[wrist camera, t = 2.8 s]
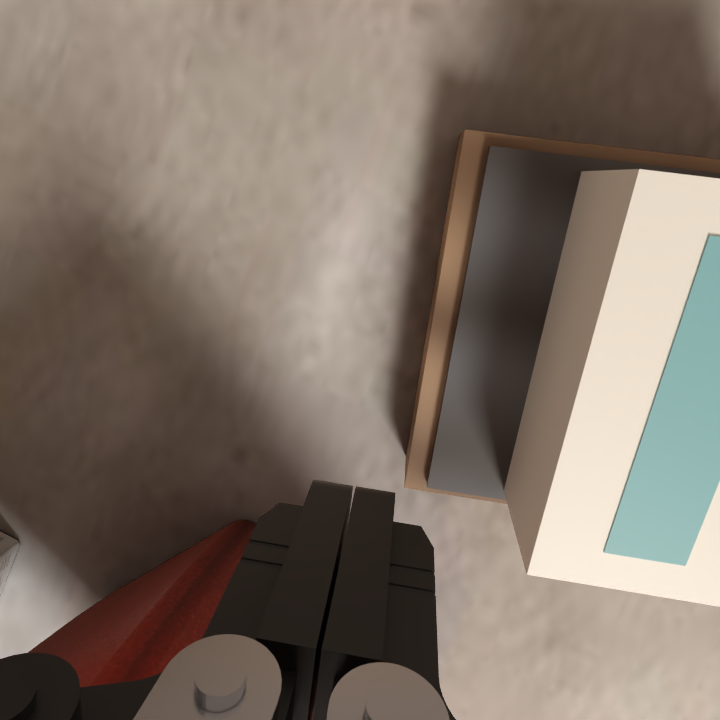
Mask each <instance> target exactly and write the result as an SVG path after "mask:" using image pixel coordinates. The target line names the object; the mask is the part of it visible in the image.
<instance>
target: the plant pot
mask: <svg viewBox="0 0 720 720" xmlns="http://www.w3.org/2000/svg"><path fill="white" fill-rule="evenodd" d="M255 527H256V524H255V523H253V522H250V521H248V520H239V521H235V522H233V523H231V524H230V525H228V526H226V527H224V528H222V529H221V530H219V531H217V532H215V533H214V534H212V535H210V536H209V537H207V538H205V539H203V540H202V541H200V542H198V543H197V544H195V545H193V546H192V547H190V548H188V549H186V550H185V551H183V552H181V553H180V554H178V555H176V556H175V557H173V558H171V559H169V560H168V561H166V562H164V563H163V564H161V565H159V566H158V567H156V568H154V569H152V570H151V571H149V572H147V573H145V574H144V575H142V576H140V577H138V578H137V579H135V580H133V581H132V582H130V583H128V584H126V585H125V586H123V587H121V588H120V589H118V590H116V591H114V592H113V593H111V594H109V595H108V596H106V597H105V598H103V599H102V600H100V601H99V602H97V603H96V604H95V605H93V606H92V607H90V608H89V609H87V610H86V611H84V612H83V613H81V614H80V615H78V616H77V617H75V618H74V619H73V620H71V621H70V622H69V623H67V624H66V625H65V626H63V627H62V628H60V629H59V630H58V631H56V632H55V633H54V634H52V635H51V636H50V637H48V638H47V639H46V640H44V641H43V642H41V643H40V644H39V645H37V646H36V647H35V648H33V649H32V650H31V651H30V652H28V653H48V654H52V655H56V656H58V657H60V658H62V659H64V660H66V661H67V662H68V663H70V664H71V665H72V666H73V668H74V669H75V671H76V672H77V675H78V677H79V682H80V687H87V686H95V685H104V684H112V683H120V682H129V681H135V680H140V679H144V678H147V677H151V676H154V675H156V674H159V673H161V672H163V670H164V669H165V668H166V666H167V665H168V663H169V662H170V661H171V660H172V659H173V658H174V657H175V656H176V655H177V654H178V653H179V652H180V651H181V650H183V649H184V648H185V647H187V646H189V645H190V644H192V643H194V642H196V641H198V640H201V639H202V637H203V635H204V634H205V631H206V629H207V627H208V625H209V623H210V621H211V619H212V617H213V615H214V613H215V611H216V608H217V606H218V604H219V602H220V600H221V598H222V596H223V594H224V592H225V590H226V588H227V585H228V583H229V581H230V579H231V577H232V575H233V573H234V571H235V569H236V567H237V564H238V562H240V560H241V556H242V554H243V552H244V550H245V548H246V546H247V544H249V540H250V537H251V535H252V533H253V531H254V529H255ZM312 720H313V719H312Z"/></svg>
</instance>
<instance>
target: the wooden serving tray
mask: <svg viewBox="0 0 720 720" xmlns="http://www.w3.org/2000/svg"><path fill="white" fill-rule="evenodd" d="M627 169H644V170H652V171H660V172H669V173H677V174H685V175H694V176H702V177H710V178H719V179H720V159H712V158H704V157H695V156H687V155H678V154H670V153H661V152H653V151H644V150H636V149H627V148H619V147H611V146H602V145H594V144H585V143H577V142H568V141H560V140H551V139H543V138H534V137H526V136H517V135H509V134H500V133H492V132H483V131H475V130H466V129H465V130H464V131H463V132H462V133H461V134H460V135H459V140H458V146H457V152H456V158H455V164H454V170H453V176H452V182H451V188H450V194H449V200H448V206H447V212H446V218H445V224H444V230H443V236H442V242H441V248H440V254H439V260H438V266H437V272H436V278H435V284H434V290H433V296H432V302H431V308H430V314H429V320H428V326H427V332H426V338H425V344H424V350H423V356H422V362H421V368H420V374H419V381H418V387H417V393H416V399H415V405H414V411H413V417H412V423H411V429H410V435H409V441H408V447H407V453H406V464H405V487H404V488H410V489H416V490H423V491H429V492H435V493H441V494H448V495H454V496H460V497H466V498H473V499H479V500H485V501H492V502H498V503H504V504H507V500H506V496H505V493H504V488H505V484H506V480H507V476H508V472H509V467H510V463H511V459H512V455H513V451H514V447H515V443H516V439H517V435H518V430H519V426H520V422H521V418H522V414H523V410H524V406H525V402H526V398H527V393H528V389H529V385H530V381H531V377H532V373H533V369H534V365H535V360H536V356H537V352H538V348H539V344H540V340H541V336H542V332H543V328H544V323H545V319H546V315H547V311H548V307H549V303H550V299H551V295H552V291H553V286H554V282H555V278H556V274H557V270H558V266H559V262H560V258H561V254H562V249H563V245H564V241H565V237H566V233H567V229H568V225H569V221H570V217H571V212H572V208H573V204H574V200H575V196H576V192H577V188H578V184H579V180H580V175H581V171H602V170H627Z"/></svg>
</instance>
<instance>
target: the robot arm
mask: <svg viewBox="0 0 720 720" xmlns="http://www.w3.org/2000/svg"><path fill="white" fill-rule="evenodd" d="M352 490H353V486H350V485H344V484H337V483H331V482H325V481H319V480H313V482H312V484H311V487H310V490H309V492H308V495H307V498H306V501H305V503H304V506H303V507H302V506H296V505H290V504H284V503H278V504H277V505H276V506H275V507H273V508H272V509H271V510H269V511H268V512H267V513H266V514H264V515H263V516H262V517H261V518H259V521H258V523H257V525H256V527H255V529H254V531H253V533H252V535H251V537H250V540H249V544H247V546H246V548H245V550H244V552H243V554H242V556H241V560H240V562H238V564H237V567H236V569H235V571H234V573H233V575H232V577H231V579H230V581H229V583H228V585H227V588H226V590H225V592H224V594H223V596H222V598H221V600H220V602H219V604H218V606H217V608H216V611H215V613H214V615H213V617H212V619H211V621H210V623H209V625H208V627H207V629H206V631H205V634H204V635H203V637H202V639H201V640H198V641H196V642H194V643H192V644H190V645H189V646H187V647H185V648H184V649H183V650H181V651H180V652H179V653H178V654H177V655H176V656H175V657H174V658H173V659H172V660H171V661H170V662H169V663H168V665H167V666H166V668H165V669H164V670H163V672H161V673H159V674H156V675H154V676H151V677H147V678H144V679H140V680H135V681H129V682H120V683H112V684H104V685H95V686H87V687H80V682H79V677H78V675H77V672H76V671H75V669H74V668H73V666H72V665H71V664H70V663H68V662H67V661H66V660H64V659H62V658H60V657H58V656H56V655H52V654H48V653H24V654H18V655H13V656H9V657H6V658H3V659H0V720H312V719H313V720H456V719H455V718H454V717H453V715H452V714H451V712H450V710H449V709H448V707H447V705H446V703H445V700H444V698H443V696H442V692H441V689H440V684H439V673H438V648H437V622H436V596H435V576H434V571H435V570H434V547H433V546H432V544H431V542H430V541H429V539H428V537H427V536H426V534H425V532H424V531H423V529H422V527H421V526H416V525H411V524H405V523H399V522H393V517H394V504H395V493H393V492H387V491H381V490H375V489H369V488H363V487H357V486H356V488H355V493H354V498H353V503H352V507H351V512H350V506H351V498H352ZM349 513H350V517H349ZM348 521H349V522H348Z"/></svg>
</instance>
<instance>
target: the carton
mask: <svg viewBox="0 0 720 720" xmlns="http://www.w3.org/2000/svg"><path fill="white" fill-rule="evenodd" d="M504 493H505V496H506V500H507V504H508V507H509V511H510V515H511V518H512V522H513V526H514V529H515V533H516V537H517V540H518V544H519V548H520V551H521V555H522V559H523V562H524V566H525V570H526V573H527V575H533V576H539V577H545V578H551V579H557V580H563V581H569V582H575V583H581V584H587V585H593V586H599V587H605V588H611V589H617V590H623V591H629V592H635V593H641V594H647V595H653V596H659V597H665V598H671V599H677V600H683V601H689V602H695V603H701V604H707V605H713V606H719V607H720V179H719V178H710V177H702V176H694V175H685V174H677V173H669V172H660V171H652V170H644V169H627V170H602V171H581V175H580V180H579V184H578V188H577V192H576V196H575V200H574V204H573V208H572V212H571V217H570V221H569V225H568V229H567V233H566V237H565V241H564V245H563V249H562V254H561V258H560V262H559V266H558V270H557V274H556V278H555V282H554V286H553V291H552V295H551V299H550V303H549V307H548V311H547V315H546V319H545V323H544V328H543V332H542V336H541V340H540V344H539V348H538V352H537V356H536V360H535V365H534V369H533V373H532V377H531V381H530V385H529V389H528V393H527V398H526V402H525V406H524V410H523V414H522V418H521V422H520V426H519V430H518V435H517V439H516V443H515V447H514V451H513V455H512V459H511V463H510V467H509V472H508V476H507V480H506V484H505V488H504Z"/></svg>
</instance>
